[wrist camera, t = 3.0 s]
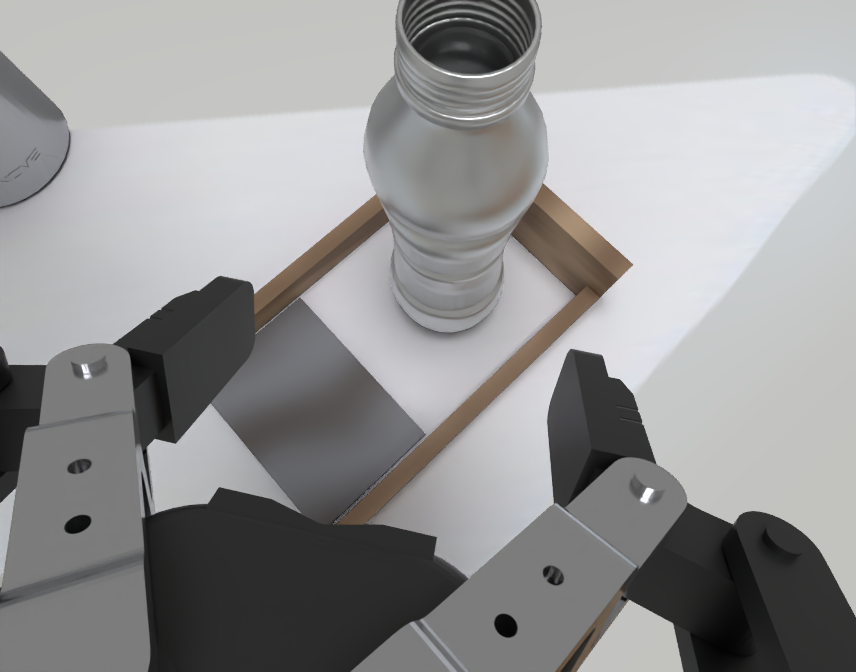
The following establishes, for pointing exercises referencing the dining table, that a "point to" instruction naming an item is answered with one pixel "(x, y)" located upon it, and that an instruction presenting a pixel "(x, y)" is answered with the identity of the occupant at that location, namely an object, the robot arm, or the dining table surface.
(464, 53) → the plastic bottle
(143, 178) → the dining table surface
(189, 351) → the robot arm
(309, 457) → the wooden tray frame
